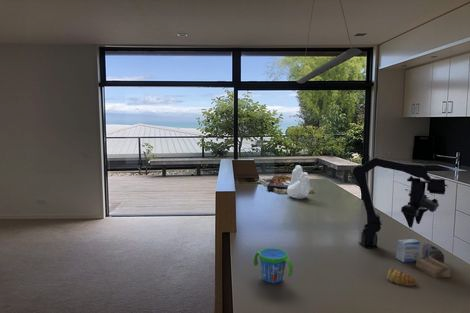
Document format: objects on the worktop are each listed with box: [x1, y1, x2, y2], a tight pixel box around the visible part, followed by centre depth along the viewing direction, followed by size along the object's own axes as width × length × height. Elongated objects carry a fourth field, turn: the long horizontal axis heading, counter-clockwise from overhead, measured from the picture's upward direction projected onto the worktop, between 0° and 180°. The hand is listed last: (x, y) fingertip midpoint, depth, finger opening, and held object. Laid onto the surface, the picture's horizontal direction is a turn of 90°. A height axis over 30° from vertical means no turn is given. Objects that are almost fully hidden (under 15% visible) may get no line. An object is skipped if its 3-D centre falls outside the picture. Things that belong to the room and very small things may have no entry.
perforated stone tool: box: [421, 243, 445, 264], centre depth 149 cm, size 15×5×7 cm, turn 172°
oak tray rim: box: [258, 178, 315, 195], centre depth 305 cm, size 32×52×3 cm, turn 12°
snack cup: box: [253, 247, 294, 284], centre depth 127 cm, size 16×10×10 cm
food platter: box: [266, 174, 292, 192], centre depth 305 cm, size 45×25×10 cm, turn 167°
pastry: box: [386, 268, 417, 287], centre depth 129 cm, size 9×7×4 cm
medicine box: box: [396, 238, 421, 264], centre depth 149 cm, size 8×4×9 cm, turn 105°
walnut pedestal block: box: [415, 257, 452, 279], centre depth 138 cm, size 7×10×4 cm
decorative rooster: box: [287, 164, 311, 200], centre depth 260 cm, size 25×16×25 cm, turn 2°
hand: (414, 225), depth 156 cm, fingers open, 9 cm apart
